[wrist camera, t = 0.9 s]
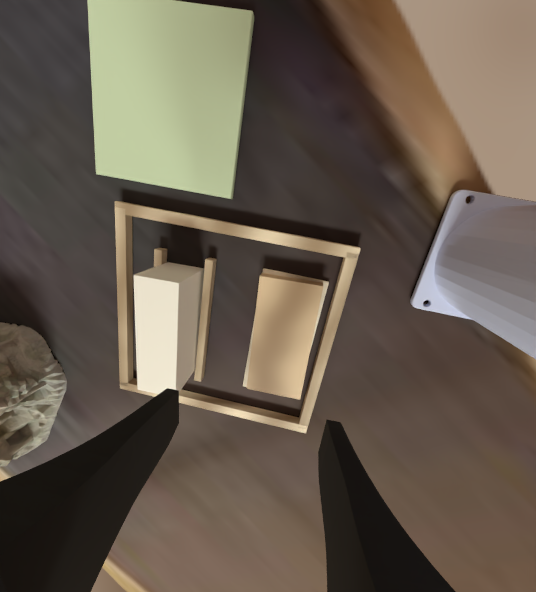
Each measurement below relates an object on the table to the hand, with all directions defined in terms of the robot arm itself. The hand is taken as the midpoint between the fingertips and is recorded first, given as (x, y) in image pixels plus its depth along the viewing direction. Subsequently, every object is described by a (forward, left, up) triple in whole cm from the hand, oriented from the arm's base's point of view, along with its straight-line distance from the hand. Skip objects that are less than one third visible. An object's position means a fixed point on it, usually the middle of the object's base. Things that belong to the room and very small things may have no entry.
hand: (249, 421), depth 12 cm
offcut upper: (-1, 0, -9) cm, 9 cm away
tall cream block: (+8, 0, -10) cm, 12 cm away
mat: (+10, -15, -9) cm, 20 cm away
